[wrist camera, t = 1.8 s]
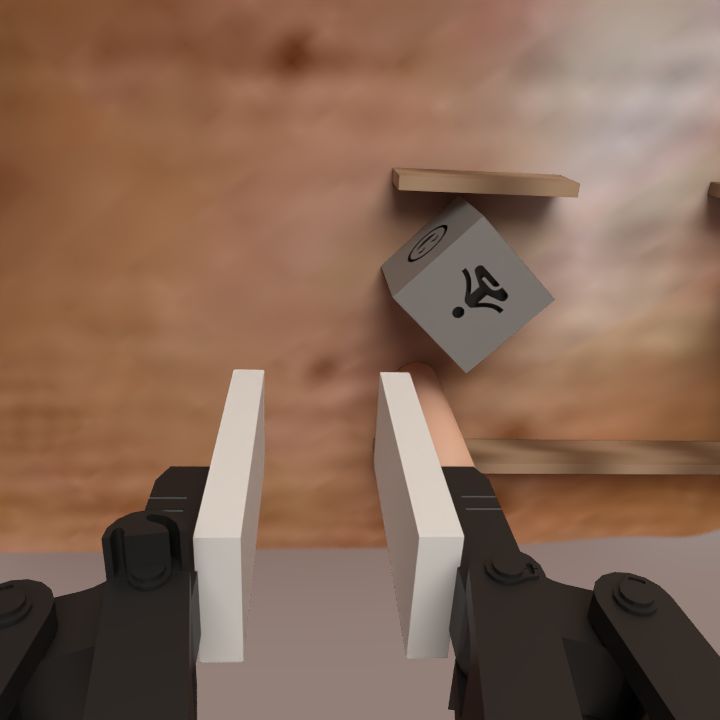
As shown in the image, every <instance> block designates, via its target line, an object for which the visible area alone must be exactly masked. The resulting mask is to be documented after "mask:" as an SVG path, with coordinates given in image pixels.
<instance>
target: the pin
mask: <svg viewBox="0 0 720 720" xmlns="http://www.w3.org/2000/svg"><path fill="white" fill-rule="evenodd" d="M397 372H401V373H410V376H411V379H412V382H413V385H414V388H415V391H416V394H417V397H418V400H419V403H420V406H421V409H422V412H423V415H424V418H425V421H426V424H427V427H428V430H429V433H430V436H431V439H432V442H433V445H434V448H435V451H436V454H437V457H438V460H439V463H440V466H474V467H475V465H474V463H473V461H472V458H471V456H470V454H469V451H468V449H467V446H466V444H465V442H464V439H463V437H462V434H461V432H460V430H459V427H458V425H457V423H456V420H455V418H454V415H453V413H452V411H451V408H450V406H449V403H448V401H447V399H446V396H445V394H444V392H443V389H442V387H441V384H440V382H439V380H438V377H437V375H436V373H435V371H434V370H433V369H432V368H431V367H430V366H429V365H427V364H424V363H420V362H414V363H409V364H406V365H405V366H403V367H401V368H400V369H399V370H398V371H397Z"/></svg>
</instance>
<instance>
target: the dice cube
mask: <svg viewBox="0 0 720 720" xmlns="http://www.w3.org/2000/svg"><path fill="white" fill-rule="evenodd" d="M381 267H382V270H383V273H384V275H385V278H386V281H387V284H388V286H389V289H390V292H391V294H392V297H393V298H394V299H395V300H396V301H397V303H398V304H399V305H400V306H401V307H402V308H403V309H404V310H405V311H406V312H407V313H408V314H409V315H410V316H411V317H412V318H413V319H414V320H415V321H416V322H417V323H418V324H419V325H420V326H421V327H422V328H423V329H424V330H425V331H426V332H427V333H428V334H429V335H430V337H431V338H432V339H433V340H434V341H435V342H436V343H437V344H438V345H439V346H440V347H441V348H442V349H443V350H444V351H445V352H446V353H447V354H448V355H449V356H450V357H451V358H452V359H453V360H454V361H455V362H456V363H457V364H458V365H459V366H460V367H461V368H462V369H463V371H464V372H465V373H468V372H469V371H470V370H471V369H472V368H474V367H475V366H476V365H477V364H478V363H480V362H481V361H482V360H483V359H484V358H486V357H487V356H488V355H489V354H490V353H492V352H493V351H494V350H495V349H496V348H498V347H499V346H500V345H501V344H502V343H503V342H505V341H506V340H507V339H508V338H509V337H511V336H512V335H513V334H514V333H515V332H517V331H518V330H519V329H520V328H521V327H523V326H524V325H525V324H526V323H527V322H529V321H530V320H531V319H532V318H533V317H535V316H536V315H537V314H538V313H539V312H541V311H542V310H543V309H544V308H545V307H547V306H548V305H549V304H550V303H551V302H552V301H554V300H555V299H554V298H553V297H552V295H551V294H550V293H549V292H548V291H547V289H546V288H545V287H544V286H543V285H542V284H541V282H540V281H539V280H538V279H537V278H536V277H535V275H534V274H533V273H532V272H531V271H530V270H529V268H528V267H527V266H526V265H525V264H524V263H523V261H522V260H521V259H520V258H519V257H518V255H517V254H516V253H515V252H514V251H513V250H512V248H511V247H510V246H509V245H508V244H507V243H506V241H505V240H504V239H503V238H502V237H501V236H500V234H499V233H498V232H497V231H496V230H495V229H494V227H493V226H492V225H491V224H490V223H489V221H488V220H487V219H486V218H485V217H484V216H483V215H482V214H481V213H480V212H479V211H477V210H476V209H475V208H474V207H473V206H471V205H470V204H469V203H468V202H467V201H466V200H464V199H463V198H462V197H461V196H460V195H458V196H457V197H456V198H455V199H454V200H453V201H452V202H450V203H449V204H448V205H447V206H446V207H445V208H444V209H443V210H442V211H441V212H440V213H438V214H437V215H436V216H435V217H434V218H433V219H432V220H431V221H430V222H429V223H428V224H426V225H425V226H424V227H423V228H422V229H421V230H420V231H419V232H418V233H417V234H416V235H414V236H413V237H412V238H411V239H410V240H409V241H408V242H407V243H406V244H405V245H404V246H403V247H401V248H400V249H399V250H398V251H397V252H396V253H395V254H394V255H393V256H392V257H391V258H389V259H388V260H387V261H386V262H385V263H384V264H383V265H382V266H381Z"/></svg>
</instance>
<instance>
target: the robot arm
mask: <svg viewBox="0 0 720 720" xmlns="http://www.w3.org/2000/svg"><path fill="white" fill-rule="evenodd" d="M264 465H265V415H264V370H234V371H233V375H232V379H231V383H230V387H229V391H228V395H227V400H226V404H225V408H224V412H223V416H222V420H221V424H220V428H219V433H218V437H217V441H216V445H215V449H214V453H213V457H212V461H211V465H210V467H174V466H171V467H170V468H169V469H167V470H166V471H165V472H164V473H163V474H162V475H161V476H160V477H159V478H158V479H156V481H155V483H154V486H153V489H152V492H151V494H150V499H149V500H148V503H147V505H146V508H145V511H140V512H134V513H131V514H128V515H126V516H124V517H122V518H119V519H117V520H116V521H115V522H114V523H113V524H111V525H110V526H109V527H108V528H107V529H106V531H105V533H104V535H103V537H102V546H103V554H104V562H105V570H106V578H107V580H106V581H105V582H103V583H101V584H100V585H97V586H95V587H93V588H90V589H87V590H84V591H80V592H76V593H72V594H68V595H64V596H60V597H55V598H54V597H53V593H52V590H51V589H50V588H49V587H47V586H46V585H45V584H43V583H42V582H38V581H33V580H28V579H25V580H12V581H8V582H5V583H1V584H0V720H197V679H196V660H197V654H198V649H199V651H200V662H201V663H203V662H243V660H244V651H245V642H246V631H247V623H248V613H249V604H250V595H251V585H252V577H253V567H254V558H255V549H256V539H257V530H258V521H259V512H260V502H261V493H262V484H263V474H264ZM374 468H375V474H376V480H377V486H378V492H379V498H380V504H381V510H382V516H383V522H384V528H385V534H386V540H387V546H388V552H389V558H390V564H391V570H392V576H393V581H394V588H395V594H396V600H397V606H398V612H399V617H400V624H401V630H402V636H403V641H404V648H405V654H406V658H408V659H409V658H447V656H448V649H449V642H450V636H451V640H452V644H453V648H454V652H455V656H456V659H455V666H454V673H453V679H452V686H451V693H450V700H449V707H448V709H449V710H455V720H720V656H719V655H718V654H717V653H716V652H715V650H714V649H713V648H712V647H711V645H710V644H709V643H708V642H707V641H706V639H705V638H704V637H703V635H702V634H701V633H700V632H699V630H698V629H697V628H696V627H695V626H694V624H693V623H692V622H691V621H690V619H689V618H688V617H687V616H686V614H685V613H684V612H683V611H682V610H681V608H680V607H679V606H678V605H677V603H676V602H675V601H674V600H673V599H672V597H671V596H670V595H669V594H668V593H667V592H666V591H665V590H663V589H662V588H661V587H660V586H659V585H657V584H655V583H653V582H651V581H650V580H648V579H646V578H644V577H641V576H637V575H634V574H631V573H620V572H614V573H610V574H606V575H603V576H601V577H600V578H599V579H598V580H597V581H596V582H595V586H594V590H593V591H592V590H587V589H583V588H578V587H574V586H570V585H565V584H562V583H559V582H555V581H553V580H550V579H549V578H546V575H545V573H544V571H543V570H542V568H541V566H540V565H539V564H538V563H537V562H536V561H535V560H534V559H533V558H532V557H530V556H528V555H527V554H524V553H522V552H520V550H519V548H518V545H517V543H516V541H515V539H514V536H513V534H512V532H511V529H510V527H509V525H508V523H507V520H506V518H505V516H504V513H503V511H502V510H501V507H500V504H499V502H498V500H497V498H495V493H494V491H493V488H492V486H491V484H490V482H489V480H488V479H487V478H486V477H485V476H484V475H483V474H482V473H480V472H479V471H478V470H477V469H476V468H475V467H474V466H440V463H439V460H438V457H437V454H436V451H435V448H434V445H433V442H432V439H431V436H430V433H429V430H428V427H427V424H426V421H425V418H424V415H423V412H422V409H421V406H420V403H419V400H418V397H417V394H416V391H415V388H414V385H413V382H412V379H411V376H410V373H401V372H380V381H379V395H378V409H377V423H376V438H375V452H374Z"/></svg>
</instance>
